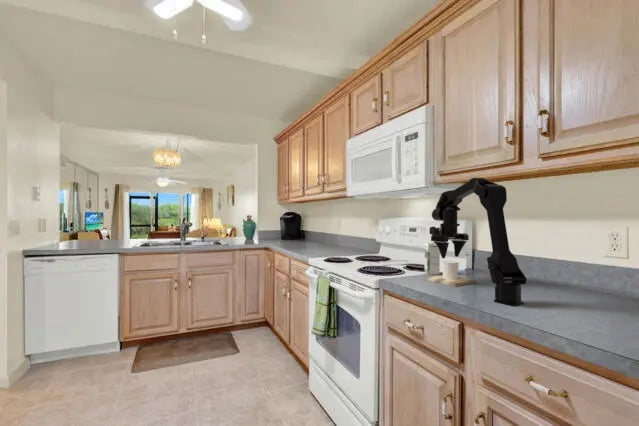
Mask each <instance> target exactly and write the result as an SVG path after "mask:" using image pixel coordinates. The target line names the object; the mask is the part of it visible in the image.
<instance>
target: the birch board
mask: <svg viewBox="0 0 639 426" xmlns="http://www.w3.org/2000/svg"><path fill="white" fill-rule="evenodd" d="M425 280H426V281H428V282H431V281H432V283H436V284H440V285H445V286H451V287H455V288H456V287H459V286H466V285H470V284H474V283H476V279H473V278H468V277H462V276H458V277H457V280H447V279H444V278H443V274H438V275H434V276H429V277H425Z"/></svg>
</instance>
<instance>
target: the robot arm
mask: <svg viewBox="0 0 639 426" xmlns="http://www.w3.org/2000/svg"><path fill="white" fill-rule="evenodd" d="M471 194H475V195H476V196H478V198H479V199H478V200H479V202H480V204H481V206H482V207H483V208H484V209H485V210H486V214H487V220H488V221H487V222H488V228H489V234H490V243H491V249H492V252H491V254H490V256H487V259H486V261H487V270H489V275H490V278H491V282H492V283H493V284H495V286H494V299H493V302H496V303H499V304H504V305H509V306H515V307H516V306H519V305H521V304H524V301H523V300H522V285H526V283H527V277H526V275H525V273H524V272H523V270H522V269H520V265H519V263H518V261H517V258H516V256H515V255H514V254H513V253H512V252H511V249H510V244H509V238H508V233H507V226H506V219H505V213H504V208H505V205H506V203H507V202H508V201H507V200H508V199H507V197H508V196H507V189H506V187H505V186H503V185H502V184H498V183H496V182H493V181H490V180H488V179H486V178H485V177H472V178H470V179H469V181H467V182H465V183H464V184H462V185H460V186H458V187H457V188H454V189H452V190H447V191H443V192H442V193H441V195H440V196H439V199H438V200H437V203H436V206H435V208H434V209H433V210H432V212H431V217H432V219H433V221H438V222H441V221H442V223H440V226H439V227H436V226H430V227H429V235H431V236H430V241H431V242H432V243H434V244H436V245H437V246H438V248H439V250H440V257H441V259H446V256H447V252H448V249H449V246H450V242H449V240H450V241H451V243H452V244H453V252H454V257H455V258H456V257H457V258H458V257H459V255H460V254H461V251H462V250H463V248H464V247H465V244H466V243H467V241H470V239H469V237H470V236H469V234H468V233H464V232H463V233H461V232H460V233H459V232H458V227H460V223H458V212H459V211H461V208H460V207H459V205H460V204H461V203H462V202H463V199H464V198H466V197H468V196H470V195H471Z"/></svg>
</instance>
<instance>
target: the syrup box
mask: <svg viewBox="0 0 639 426" xmlns="http://www.w3.org/2000/svg"><path fill="white" fill-rule="evenodd" d="M440 257H441V253H440V250H439V248H438V246H437V245H436V244H435V243H433V242H431V243H430V242H426V243H424V273H426V274H427V275H440V266H441V265H440V262H441V261H440V260H441V259H440Z"/></svg>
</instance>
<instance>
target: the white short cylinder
mask: <svg viewBox="0 0 639 426" xmlns="http://www.w3.org/2000/svg"><path fill="white" fill-rule="evenodd" d="M459 267H460V263H459V262H457V261H447V260H446V261H441V268H442V269H441V271H442V275H443V278H444V279H447V280H457V277H459Z"/></svg>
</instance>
